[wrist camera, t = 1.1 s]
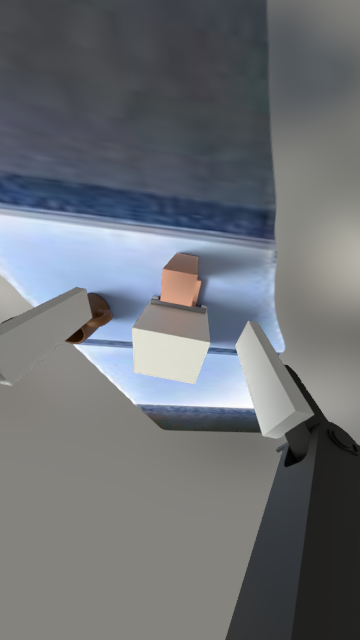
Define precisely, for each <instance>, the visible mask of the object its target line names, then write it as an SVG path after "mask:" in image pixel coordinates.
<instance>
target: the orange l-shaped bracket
mask: <svg viewBox="0 0 360 640" xmlns="http://www.w3.org/2000/svg"><path fill="white" fill-rule="evenodd" d="M197 278H198V257H197V256H191V255H186V254H181V253H176V254H175V255H174V257H173V258H172V259H171V260H170V261H169V262H168V264H167V265H166V266H165V267H164V268H163V273H162V286H161V298H160V301H164V302H169V303H174V304H180V305H185V306H190V307H191V306H196V302H197V298H198V294H199V290H200V286H201V280H200V279H197Z"/></svg>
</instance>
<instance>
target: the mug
mask: <svg viewBox="0 0 360 640" xmlns="http://www.w3.org/2000/svg"><path fill="white" fill-rule="evenodd" d="M87 296H88V300H89V305H90V309H91V314H92V318H91V319H90V320H89V321H88V322H87V323H85V324H84V325H83V326H82V327H81V328H80V329H78V330H77V331H76V332H75V333H74V334H72V335H71V336H70V337H69V338H68V339H67V340H65V341H66V342H68V343H72V344H79V343H82V342H84V341H85V340H86V339H87V338H88V337H90V336H91V335H92V334H93V333H94V332H95V331H96V330H97V329H98V328H99V327H100V326H103V325H105V324H107V323H108V322H109V321H110V320H111V319H112V317H113V314H112V312H111V311H110V309H109V306H108V304H107V303H106V301H105V300H104V299H102V298H101V297H100V296H98V295H95V294H90V293H88V294H87Z"/></svg>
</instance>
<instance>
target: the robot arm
mask: <svg viewBox="0 0 360 640" xmlns="http://www.w3.org/2000/svg"><path fill="white" fill-rule="evenodd" d="M91 318H92V314H91V309H90V305H89V300H88V296H87V291H86V289H83V288H78V287H76V288H74V289H72V290H70V291H68V292H66V293H64V294H62V295H59V296H57V297H55V298H53V299H51V300H49V301H47V302H45V303H43V304H41V305H39V306H37V307H35V308H33V309H31V310H29V311H27V312H25V313H23V314H21V315H19V316H16V317H13V318H10V319H8V320H6V321H4V322H2V323H1V324H0V383H1V384H6V385H11V386H12V385H13V384H14V383H15V382H17V381H18V380H19V379H20V378H21V377H23V376H24V375H25V374H26V373H27V372H28V371H30V370H31V369H32V368H33V367H35V366H36V365H37V364H38V363H39V362H40V361H42V360H43V359H44V358H45V357H46V356H48V355H49V354H50V353H51V352H52V351H53V350H55V349H56V348H57V347H58V346H59V345H61V344H62V343H63V342H64V341H65V340H67V339H68V338H69V337H70V336H71V335H72V334H74V333H75V332H76V331H77V330H78V329H80V328H81V327H82V326H83V325H84V324H85V323H87V322H88V321H89V320H90V319H91ZM235 346H236V350H237V353H238V356H239V359H240V363H241V366H242V369H243V373H244V376H245V379H246V382H247V386H248V389H249V392H250V395H251V399H252V402H253V405H254V408H255V412H256V415H257V418H258V422H259V425H260V428H261V431H262V435H263V436H266V437H271V438H276V439H278V438H280V437H281V436H283V435H284V434H285V436H286V439H287V441H288V442H286V443H285V444H283V445H282V446H280V447H278V448H277V450H276V451H277V452H280V451H282V450H283V452H282V455H281V458H280V462H279V465H278V468H277V471H276V475H275V478H274V482H273V485H272V488H271V491H270V494H269V498H268V501H267V505H266V508H265V511H264V514H263V517H262V521H261V524H260V527H259V531H258V534H257V537H256V541H255V544H254V547H253V550H252V554H251V557H250V560H249V564H248V567H247V570H246V573H245V577H244V580H243V583H242V587H241V590H240V593H239V597H238V600H237V603H236V606H235V610H234V613H233V616H232V620H231V623H230V626H229V629H228V633H227V636H226V639H225V640H360V446H359V445H357V444H356V442H355V441H354V440H353V439H352V438H351V436H349V434H348V433H347V432H345V431H344V430H343V429H342V428H340V427H339V426H337V425H336V424H334V423H332V422H329V421H328V420H327V419H326V418H325V416H324V414H323V413H322V411H321V410H320V408H319V407H318V405H317V404H316V402H315V401H314V399H313V398H312V396H311V395H310V393H309V392H308V391H307V390H306V387H305V386H304V384H303V383H301V380H300V378H299V377H298V375H297V374H296V373H295V372H294V371H293V370H292V369H291V368H290V367H289V366H288V365H284V364H283V363H282V361H281V359H280V358H279V356H278V354H277V353H276V351H275V350H274V348H273V346H272V345H271V343H270V341H269V340H268V338H267V337H266V335H265V333H264V332H263V330H262V329H261V327H260V325H259V324H258V322H253V321H248V322H247V324H246V326H245V328H244V330H243V332H242V334H241V336H240V337H239V339H238V341H237V343H236V345H235Z"/></svg>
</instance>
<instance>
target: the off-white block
mask: <svg viewBox="0 0 360 640" xmlns="http://www.w3.org/2000/svg"><path fill="white" fill-rule="evenodd" d="M132 336H133V357H134V373H139V374H145V375H150V376H155V377H160V378H165V379H170V380H176V381H181V382H186V383H191V384H195V383H196V381H197V378H198V375H199V372H200V370H201V367H202V364H203V362H204V359H205V356H206V353H207V351H208V348H209V345H210V333H209V323H208V313H207V306H205V305H201V307H196V306H191V307H190V306H185V305H180V304H174V303H169V302H164V301H160V300H159V297H157V296H153V297H152V299H151V300H150V302H149V303H148V305H147V306H146V308H145V309H144V311H143V312H142V314H141V315H140V317H139V318H138V320H137V321H136V323H135V324H134V326H133V327H132Z"/></svg>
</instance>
